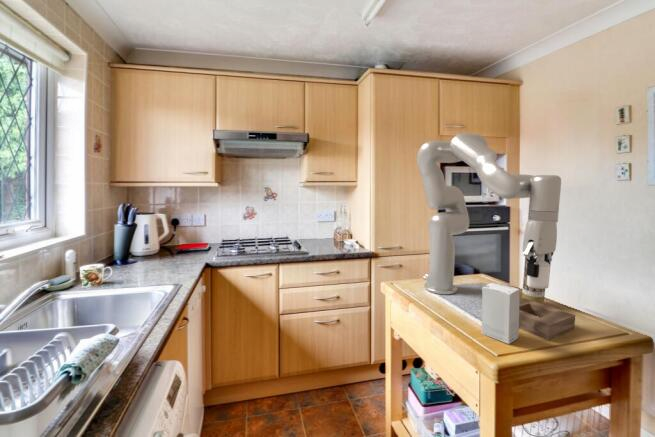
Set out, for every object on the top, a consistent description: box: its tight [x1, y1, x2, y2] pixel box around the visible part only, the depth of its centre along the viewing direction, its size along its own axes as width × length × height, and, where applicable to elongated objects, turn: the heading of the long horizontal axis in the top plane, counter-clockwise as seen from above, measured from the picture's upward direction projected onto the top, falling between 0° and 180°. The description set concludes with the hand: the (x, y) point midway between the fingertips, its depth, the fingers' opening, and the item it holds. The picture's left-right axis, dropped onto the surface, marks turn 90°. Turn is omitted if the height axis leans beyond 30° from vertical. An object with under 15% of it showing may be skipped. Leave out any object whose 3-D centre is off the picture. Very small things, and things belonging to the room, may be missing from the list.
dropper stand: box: [519, 297, 576, 341], centre depth 102 cm, size 16×14×4 cm
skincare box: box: [481, 282, 521, 345], centre depth 93 cm, size 8×6×15 cm
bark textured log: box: [521, 251, 546, 305], centre depth 115 cm, size 7×7×25 cm
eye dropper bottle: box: [527, 253, 551, 290], centre depth 100 cm, size 4×6×12 cm
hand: (538, 274), depth 100 cm, fingers closed on eye dropper bottle, 5 cm apart
